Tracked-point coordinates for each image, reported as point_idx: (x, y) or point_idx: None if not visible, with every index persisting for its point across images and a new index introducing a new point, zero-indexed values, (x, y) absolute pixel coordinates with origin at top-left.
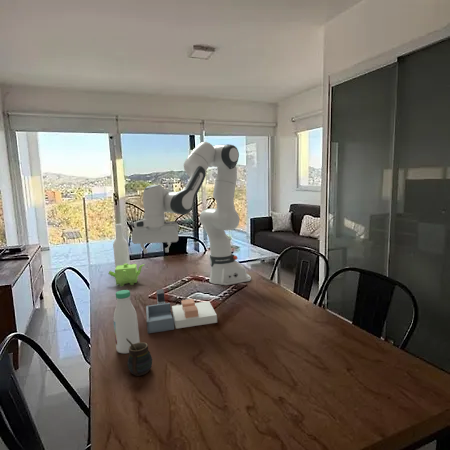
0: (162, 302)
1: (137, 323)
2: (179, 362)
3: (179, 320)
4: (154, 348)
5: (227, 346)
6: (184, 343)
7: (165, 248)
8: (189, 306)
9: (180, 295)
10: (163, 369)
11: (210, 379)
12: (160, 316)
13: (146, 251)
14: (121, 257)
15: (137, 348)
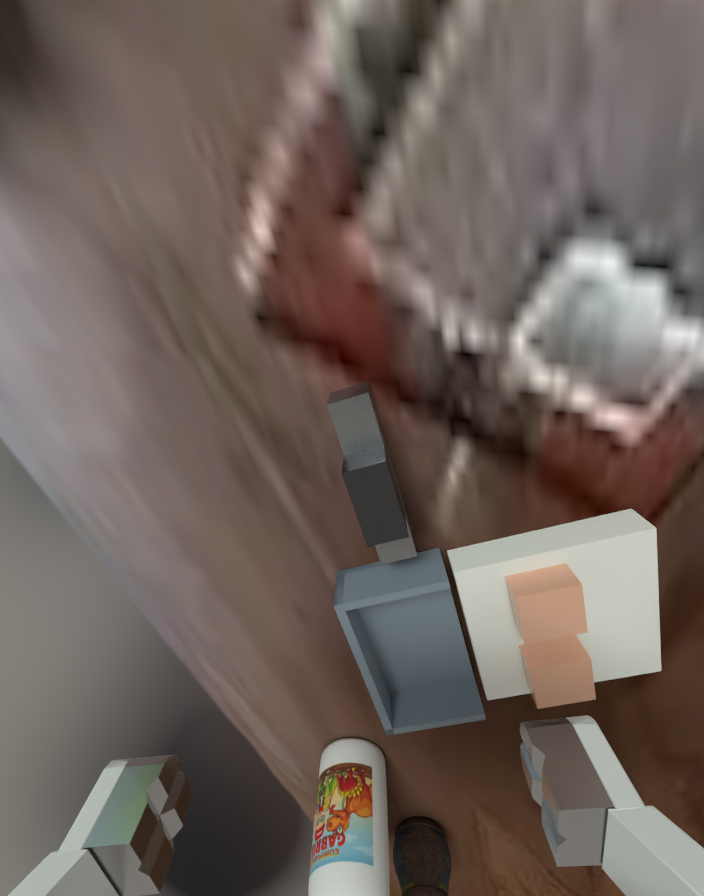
0: (401, 551)
1: (388, 851)
2: (505, 808)
3: (503, 697)
4: (428, 760)
5: (640, 766)
6: (514, 746)
7: (566, 852)
8: (559, 666)
9: (463, 297)
10: (469, 824)
11: None
12: (404, 601)
13: (171, 840)
14: None
15: (416, 885)
